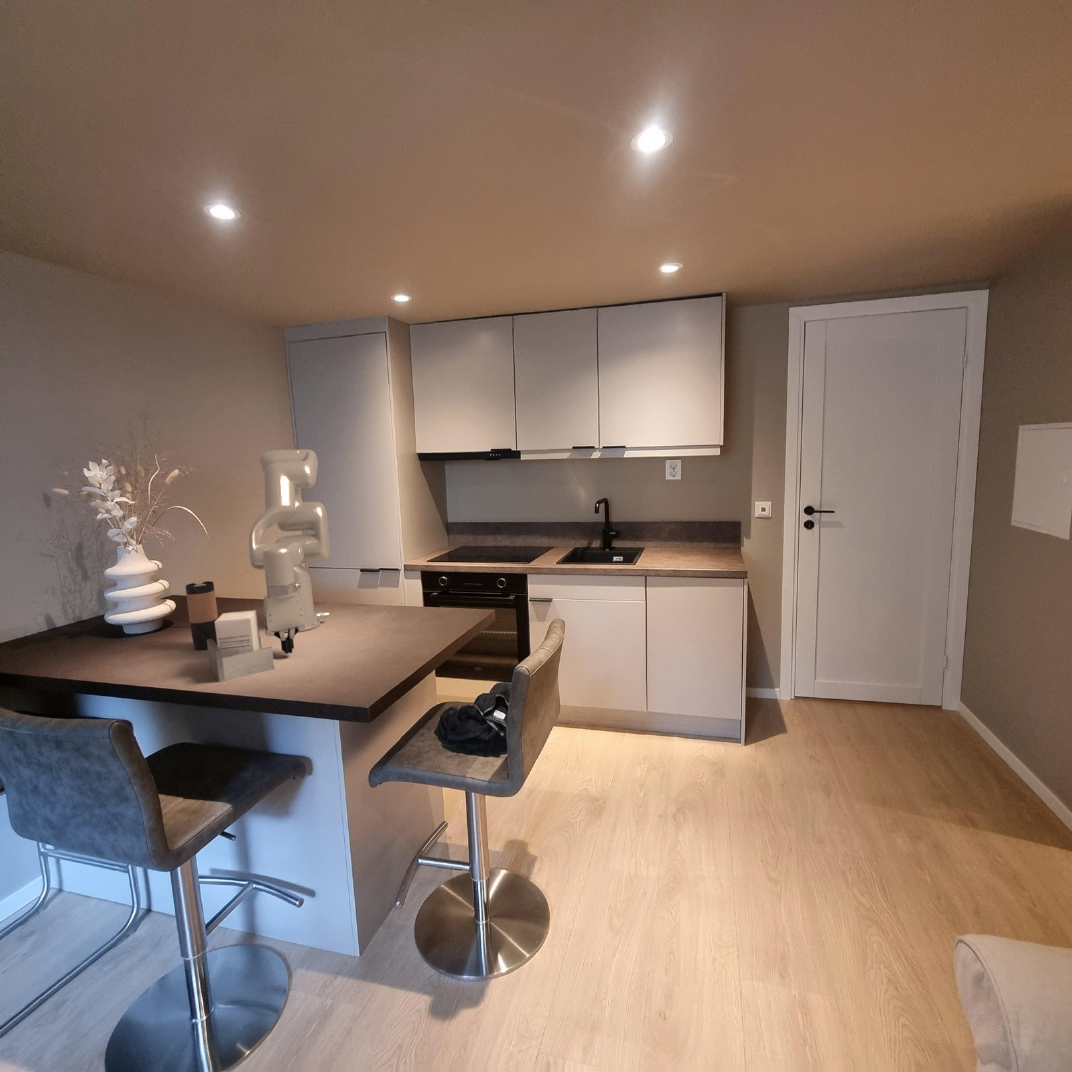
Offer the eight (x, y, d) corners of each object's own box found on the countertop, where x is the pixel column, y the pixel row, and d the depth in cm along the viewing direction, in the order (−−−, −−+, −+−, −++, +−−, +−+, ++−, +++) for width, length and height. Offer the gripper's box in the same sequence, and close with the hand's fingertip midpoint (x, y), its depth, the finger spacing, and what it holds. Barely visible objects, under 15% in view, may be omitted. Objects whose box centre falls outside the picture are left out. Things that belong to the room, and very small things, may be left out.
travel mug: (208, 651, 172) (200, 586, 169) (187, 650, 173) (178, 586, 171) (227, 642, 179) (219, 581, 177) (206, 642, 181) (198, 581, 178)
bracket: (261, 655, 165) (258, 629, 164) (274, 668, 154) (271, 640, 153) (210, 667, 157) (206, 639, 156) (219, 682, 146) (216, 652, 145)
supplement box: (228, 664, 159) (222, 612, 157) (263, 660, 161) (257, 609, 159) (220, 675, 150) (213, 621, 148) (256, 671, 153) (250, 617, 151)
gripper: (305, 583, 168) (311, 643, 170) (250, 592, 159) (257, 655, 161) (312, 587, 162) (318, 649, 164) (255, 596, 153) (263, 662, 155)
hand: (288, 652), depth 163 cm, fingers closed
